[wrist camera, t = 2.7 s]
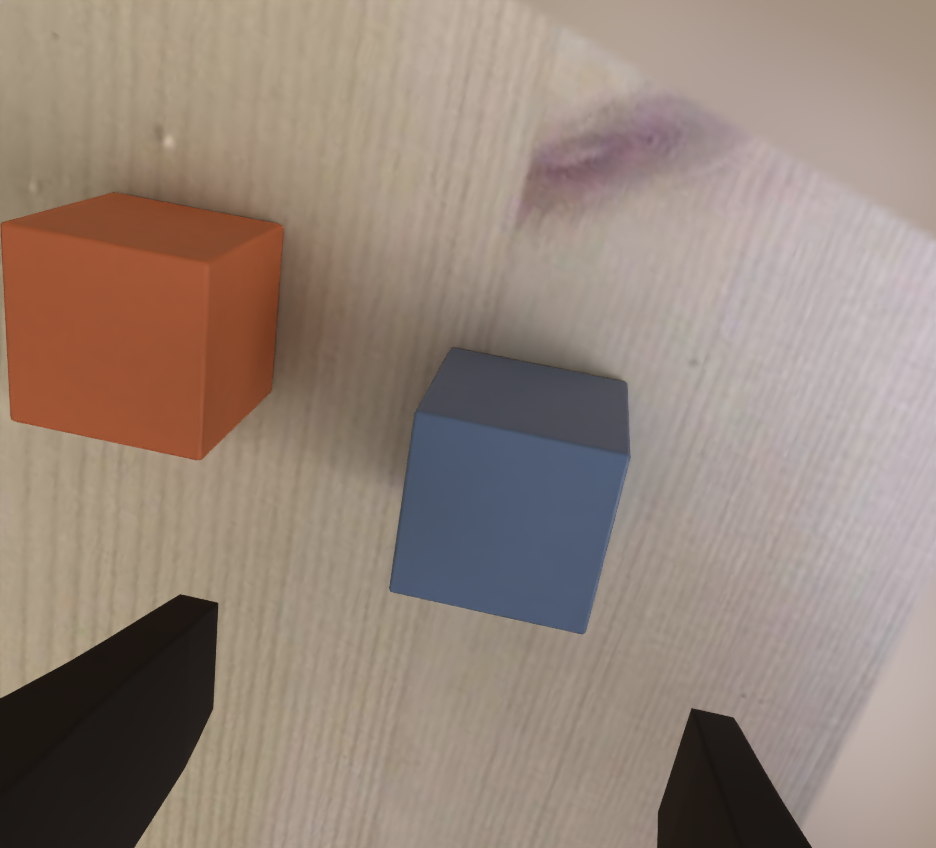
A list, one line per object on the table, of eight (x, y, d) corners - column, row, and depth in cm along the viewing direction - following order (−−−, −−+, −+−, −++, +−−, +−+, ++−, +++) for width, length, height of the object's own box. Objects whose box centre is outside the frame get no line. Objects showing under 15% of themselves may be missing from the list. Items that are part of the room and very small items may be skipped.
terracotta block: (285, 223, 19) (209, 262, 16) (272, 393, 21) (200, 463, 17) (111, 190, 20) (-3, 220, 16) (112, 359, 21) (8, 421, 18)
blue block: (628, 381, 20) (631, 455, 16) (590, 536, 21) (584, 636, 18) (450, 346, 20) (414, 410, 16) (426, 502, 22) (388, 592, 18)
